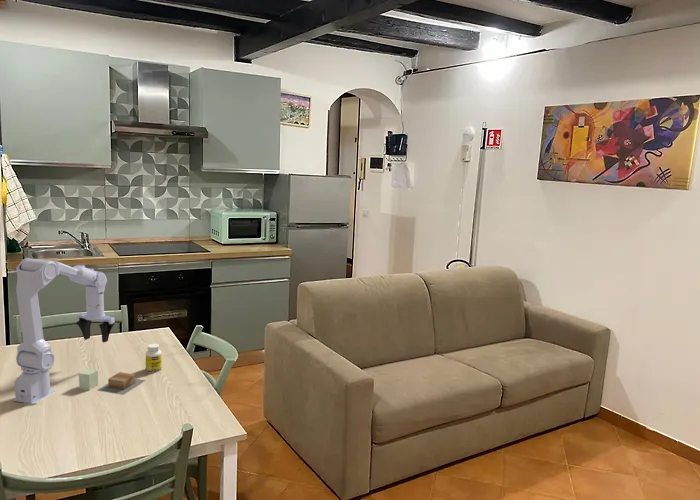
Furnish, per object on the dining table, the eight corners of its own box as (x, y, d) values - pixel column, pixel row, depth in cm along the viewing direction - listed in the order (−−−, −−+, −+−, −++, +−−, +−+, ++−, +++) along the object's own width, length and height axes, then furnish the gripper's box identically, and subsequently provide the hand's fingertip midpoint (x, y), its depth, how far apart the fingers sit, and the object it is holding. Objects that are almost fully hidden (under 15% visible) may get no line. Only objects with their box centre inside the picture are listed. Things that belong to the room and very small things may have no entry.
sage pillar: (89, 392, 180) (89, 374, 179) (79, 390, 181) (78, 373, 180) (98, 387, 184) (97, 370, 182) (88, 385, 184) (87, 368, 183)
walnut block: (124, 389, 181) (123, 381, 180) (108, 387, 182) (108, 378, 182) (135, 382, 187) (135, 374, 186) (120, 380, 188) (119, 372, 188)
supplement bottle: (151, 375, 195) (151, 349, 193) (142, 371, 198) (142, 345, 196) (164, 371, 199) (164, 345, 197) (155, 367, 202) (155, 341, 201)
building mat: (123, 396, 178) (123, 394, 178) (97, 391, 180) (97, 389, 180) (145, 382, 189) (145, 380, 189) (120, 377, 192) (120, 376, 192)
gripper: (119, 303, 198) (120, 339, 201) (85, 299, 202) (86, 334, 204) (106, 308, 192) (107, 345, 194) (71, 303, 195) (73, 340, 197)
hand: (96, 340), depth 198 cm, fingers open, 7 cm apart
